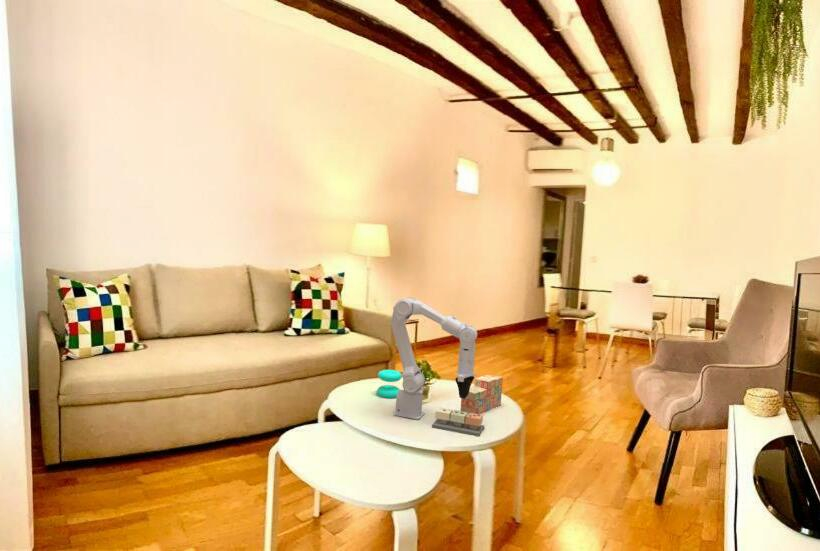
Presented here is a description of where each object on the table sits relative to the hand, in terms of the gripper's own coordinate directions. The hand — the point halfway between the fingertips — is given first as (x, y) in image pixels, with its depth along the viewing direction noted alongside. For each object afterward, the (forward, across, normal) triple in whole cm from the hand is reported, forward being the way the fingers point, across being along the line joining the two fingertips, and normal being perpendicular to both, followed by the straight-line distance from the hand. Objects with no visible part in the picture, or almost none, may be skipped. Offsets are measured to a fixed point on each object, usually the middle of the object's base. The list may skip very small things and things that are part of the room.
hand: (463, 396), depth 186 cm
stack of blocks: (+10, +21, -3) cm, 23 cm away
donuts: (+10, +18, +36) cm, 42 cm away
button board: (+10, -5, 0) cm, 11 cm away
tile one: (+7, -5, +6) cm, 10 cm away
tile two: (+7, -5, 0) cm, 9 cm away
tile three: (+7, -5, -5) cm, 10 cm away
